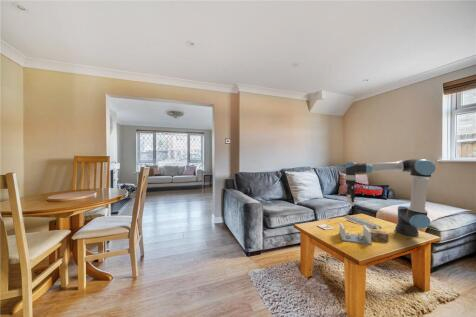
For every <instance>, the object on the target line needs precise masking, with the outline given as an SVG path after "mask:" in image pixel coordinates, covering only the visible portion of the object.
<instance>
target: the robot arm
mask: <svg viewBox="0 0 476 317" xmlns="http://www.w3.org/2000/svg"><path fill="white" fill-rule="evenodd" d="M344 168H345V175H344V177H345V184H346V202H347V203H350V206H351V207H353V206H355V198H356V194H355V192H356V191H355V186H354V185H356V181H357V180H356V179H357V178H356V176H357V175H356V174H372V172H391V171H394V172H395V171H396V172H398V171H399V172H401V173H402V172H406V173H410V176H411V177H412V183H411V193H410V194H411V195H410V205H409V206H408V205H398V207H397V223H396V226H395V228H394V231H395V232H397V233H398V234H401V235H404V236H410V237H419V236H420V235H419V233H420V232H419V230H418V229H426V228H428V227H429V226H430V225H431V219H430V218H429V216H428V211H427V210H426V202H427V191H428V181H429V179H430V178H432V174H434V173H435V171H436V165H435V164H434V162H432V160H428V159H425V158H424V159H422V158H421V159H420V158H419V159H418V158H412V159H403V160H398V161H392V162H391V161H389V162H388V161H386V162H370V163H368V162H365V163H356V162H355V161H346V163H345V167H344Z"/></svg>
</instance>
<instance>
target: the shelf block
mask: <svg viewBox="0 0 476 317" xmlns="http://www.w3.org/2000/svg"><path fill="white" fill-rule="evenodd" d="M369 230H370V231H371V241H380V242H389V233H388V232H387V231H385V230H375V229H369Z"/></svg>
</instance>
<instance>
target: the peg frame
mask: <svg viewBox="0 0 476 317" xmlns="http://www.w3.org/2000/svg"><path fill="white" fill-rule="evenodd" d="M370 230H371V229H370V228H367V226H366V225H363V226H362V233H363V234H362V233H359V232H358V233H357V234H354V233H350V232H349V231H346V227H345V226H344V225H343V223H342V222H339V232H338V235H339V236H340V239H341V242H348V243H355V244H363V245H371V246H372V245H373V242H372V240H371V231H370Z"/></svg>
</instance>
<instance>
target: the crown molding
mask: <svg viewBox="0 0 476 317" xmlns="http://www.w3.org/2000/svg"><path fill="white" fill-rule="evenodd" d="M344 219H345V220H348V221H350V220H351V222H353V221H354V222H353V223H355V222H356V223H355V224H357V223H358V225H361V226H362V225H366V226H367V228H368V229H369V230H375V229H376V228H378V229H382V226H381V225H378V224H376V223H373V222H370V221H367V220H365V219H362V218H359V217H357V216H354V215H348V214H346V215H345V216H344Z"/></svg>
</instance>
